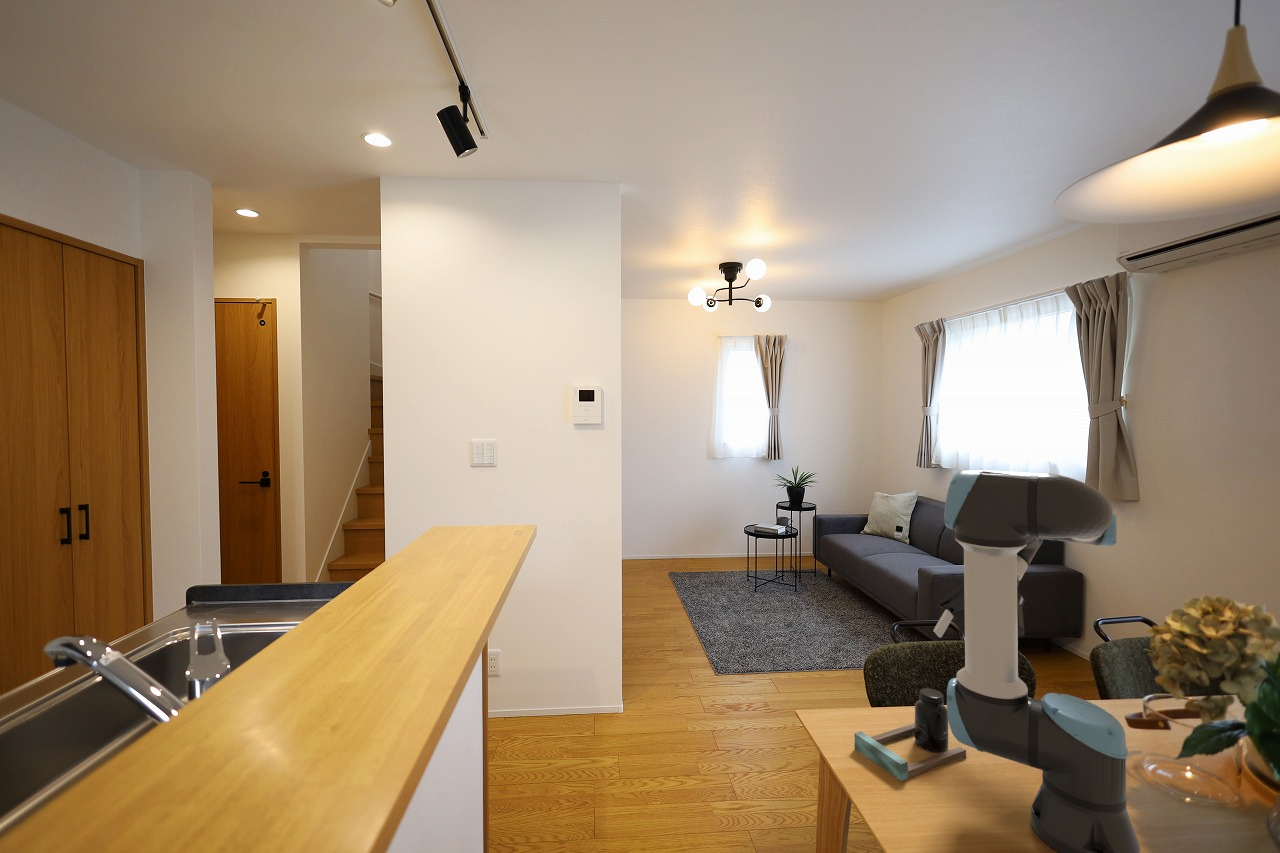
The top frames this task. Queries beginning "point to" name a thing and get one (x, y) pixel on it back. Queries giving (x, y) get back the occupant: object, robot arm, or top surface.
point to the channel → (895, 763)
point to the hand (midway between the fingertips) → (962, 644)
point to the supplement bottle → (931, 721)
